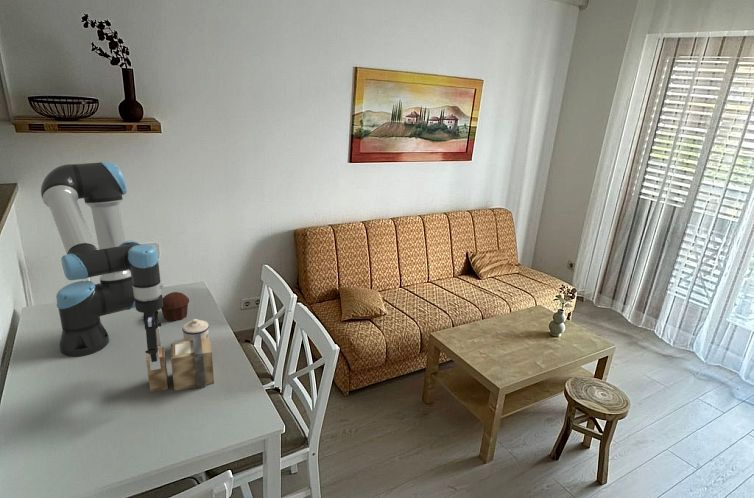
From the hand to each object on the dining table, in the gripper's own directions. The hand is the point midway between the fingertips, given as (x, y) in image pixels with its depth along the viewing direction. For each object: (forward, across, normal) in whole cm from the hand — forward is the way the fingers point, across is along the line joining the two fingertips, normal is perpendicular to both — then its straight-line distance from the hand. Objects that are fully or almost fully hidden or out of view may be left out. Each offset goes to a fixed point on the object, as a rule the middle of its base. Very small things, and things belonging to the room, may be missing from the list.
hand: (156, 357), depth 143 cm
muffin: (+10, +46, -5) cm, 48 cm away
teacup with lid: (+11, +21, -12) cm, 27 cm away
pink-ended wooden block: (+11, 0, 0) cm, 11 cm away
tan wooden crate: (+11, 0, -10) cm, 15 cm away
